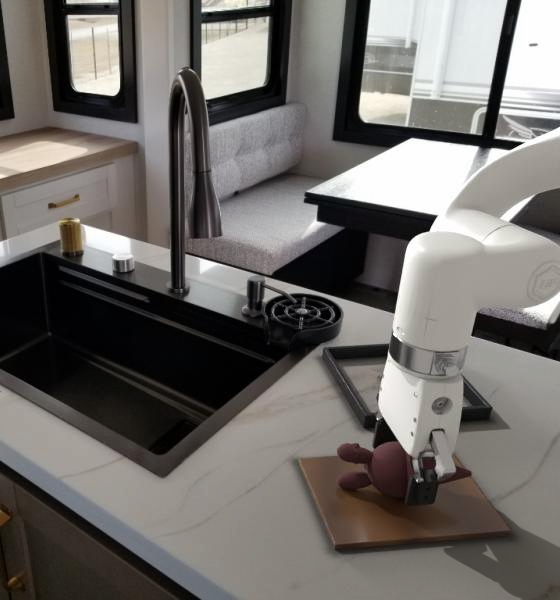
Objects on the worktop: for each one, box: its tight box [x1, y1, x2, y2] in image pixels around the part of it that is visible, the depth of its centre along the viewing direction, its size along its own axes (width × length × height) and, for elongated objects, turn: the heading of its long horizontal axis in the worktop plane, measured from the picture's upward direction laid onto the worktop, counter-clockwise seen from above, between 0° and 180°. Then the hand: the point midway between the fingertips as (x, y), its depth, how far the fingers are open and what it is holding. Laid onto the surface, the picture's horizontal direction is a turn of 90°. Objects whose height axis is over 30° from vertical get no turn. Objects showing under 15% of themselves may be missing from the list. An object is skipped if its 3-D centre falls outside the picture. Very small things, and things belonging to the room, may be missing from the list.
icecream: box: [336, 441, 473, 498], centre depth 75 cm, size 7×7×15 cm
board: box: [297, 448, 511, 551], centre depth 76 cm, size 20×14×1 cm
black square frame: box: [321, 342, 493, 429], centre depth 96 cm, size 18×18×2 cm
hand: (401, 473), depth 75 cm, fingers open, 8 cm apart
